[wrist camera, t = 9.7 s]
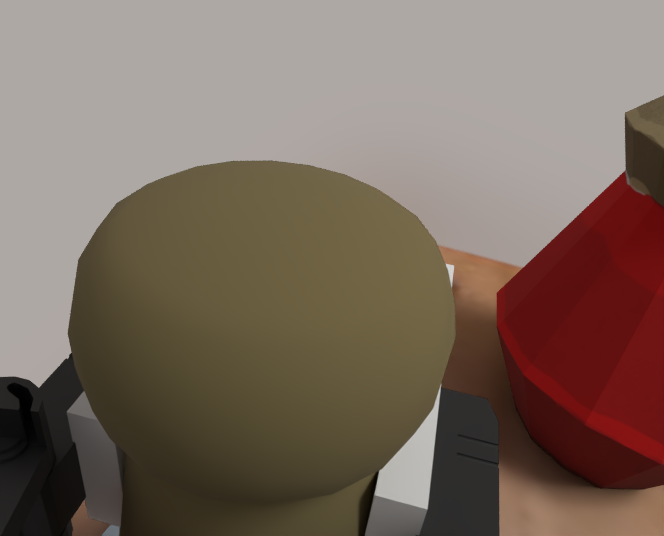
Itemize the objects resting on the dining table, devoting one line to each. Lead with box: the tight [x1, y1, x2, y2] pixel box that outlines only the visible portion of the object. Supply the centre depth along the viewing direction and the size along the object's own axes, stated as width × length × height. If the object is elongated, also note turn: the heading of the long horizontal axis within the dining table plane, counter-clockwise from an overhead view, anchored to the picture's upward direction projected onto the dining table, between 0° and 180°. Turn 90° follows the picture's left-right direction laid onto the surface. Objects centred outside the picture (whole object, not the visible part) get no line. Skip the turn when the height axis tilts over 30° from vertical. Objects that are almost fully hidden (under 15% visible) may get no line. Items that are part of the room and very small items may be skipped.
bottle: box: [497, 96, 664, 489], centre depth 31 cm, size 16×14×20 cm
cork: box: [68, 161, 456, 536], centre depth 10 cm, size 6×6×11 cm
